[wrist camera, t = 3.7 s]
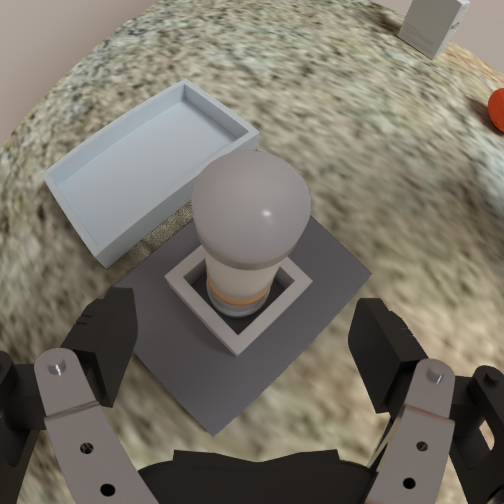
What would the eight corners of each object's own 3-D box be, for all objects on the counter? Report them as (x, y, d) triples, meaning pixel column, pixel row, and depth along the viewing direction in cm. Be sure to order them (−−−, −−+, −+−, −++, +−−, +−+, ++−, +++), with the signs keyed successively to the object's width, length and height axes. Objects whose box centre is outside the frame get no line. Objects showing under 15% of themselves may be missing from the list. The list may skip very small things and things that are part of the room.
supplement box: (432, 61, 39) (462, 4, 27) (395, 36, 40) (420, -22, 29) (444, 53, 41) (471, 2, 29) (411, 30, 43) (434, -22, 31)
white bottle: (238, 250, 23) (252, 133, 12) (279, 291, 22) (334, 202, 11) (195, 288, 22) (166, 194, 10) (236, 331, 21) (250, 280, 10)
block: (256, 177, 27) (261, 149, 23) (365, 278, 24) (386, 262, 21) (101, 305, 22) (81, 293, 18) (213, 433, 19) (211, 444, 16)
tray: (187, 97, 30) (185, 78, 27) (257, 151, 28) (259, 132, 25) (52, 190, 25) (41, 174, 22) (106, 269, 23) (94, 257, 20)
